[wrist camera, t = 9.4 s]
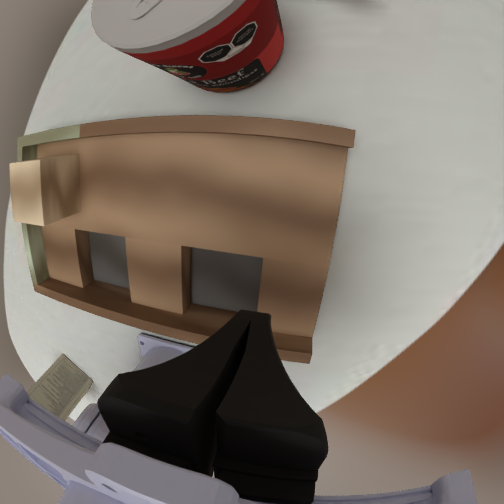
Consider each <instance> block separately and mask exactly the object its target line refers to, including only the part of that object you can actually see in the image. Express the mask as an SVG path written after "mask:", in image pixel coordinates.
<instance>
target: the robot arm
mask: <svg viewBox="0 0 504 504" xmlns="http://www.w3.org/2000/svg"><path fill="white" fill-rule="evenodd" d="M143 342H144V343H143ZM138 343H139V348H140V353H141V358H142V360H141V361H140V363H139V364H138V365H137V367H136V368H135V369H134V371H132V372H127V373H122V374H118V375H117V377H116V378H115V379H114V380H113V381H112V382H111V383H110V385H109V386H108V387H107V389H106V390H105V391H104V393H103V394H102V395H101V397H100V398H99V399H98V403H93V404H89V405H88V406H87V407H86V408H85V409H84V411H83V412H82V413H81V414H80V416H79V417H78V418H77V420H76V421H75V422H74V424H73V425H70V424H69V423H67V422H65V421H64V420H62V419H60V418H59V417H57V416H56V415H54V414H53V413H51V412H49V411H48V410H46V409H45V408H44V407H42V406H41V405H39V404H38V403H36V402H35V401H33V400H32V399H31V398H30V397H29V395H28V393H27V391H26V390H25V388H24V387H23V386H22V385H21V384H20V383H19V382H18V381H17V380H15V379H14V378H13V377H12V376H10V375H9V374H6V375H4V377H2V378H1V380H0V434H1V435H2V436H3V437H4V438H5V439H6V440H7V441H8V442H9V443H10V444H11V445H12V446H13V447H14V448H15V449H16V450H18V451H19V452H20V453H21V454H22V455H23V456H24V457H26V458H27V459H28V460H29V461H30V462H31V463H32V464H34V465H35V466H36V467H37V468H39V469H40V470H41V471H42V472H44V473H45V474H46V475H47V476H49V477H50V478H52V479H53V480H54V481H55V482H57V483H58V484H60V485H61V486H62V487H63V489H64V493H63V495H62V496H61V498H60V500H59V501H58V503H57V504H477V500H476V495H475V490H474V486H473V482H472V478H471V474H470V470H469V469H465V470H461V471H458V472H454V473H450V474H447V475H444V476H443V477H440V478H439V479H437V480H436V481H435V482H434V483H433V484H432V485H430V486H425V487H420V488H415V489H409V490H402V491H396V492H388V493H380V494H367V495H352V496H351V495H350V496H314V493H315V482H316V481H317V478H318V469H319V467H320V466H321V464H322V463H323V461H324V460H325V458H326V457H327V454H328V441H327V435H326V431H325V428H324V424H323V421H322V419H321V418H320V417H319V416H318V415H317V414H316V413H315V412H314V411H313V410H312V408H311V407H310V406H309V405H308V404H307V403H306V401H305V400H304V399H303V398H302V396H301V395H300V393H299V392H298V390H297V389H296V387H295V386H294V385H293V383H292V381H291V380H290V378H289V376H288V374H287V372H286V370H285V368H284V366H283V364H282V362H281V359H280V357H279V354H278V352H277V349H276V345H275V342H274V338H273V334H272V328H271V315H270V314H269V313H262V312H255V311H249V310H243V309H241V310H239V311H238V312H237V313H236V314H235V315H234V316H233V317H232V318H231V319H230V320H229V321H228V322H227V323H226V324H225V325H224V326H222V327H221V328H220V329H219V330H218V331H217V332H215V333H214V334H213V335H211V336H210V337H209V338H207V339H206V340H205V341H203V342H202V343H200V344H199V345H197V346H196V347H194V348H193V347H189V346H185V345H181V344H177V343H173V342H169V341H166V340H162V339H158V338H155V337H151V336H148V335H144V334H139V336H138ZM213 472H214V476H215V478H213V477H212V476H213Z"/></svg>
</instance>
